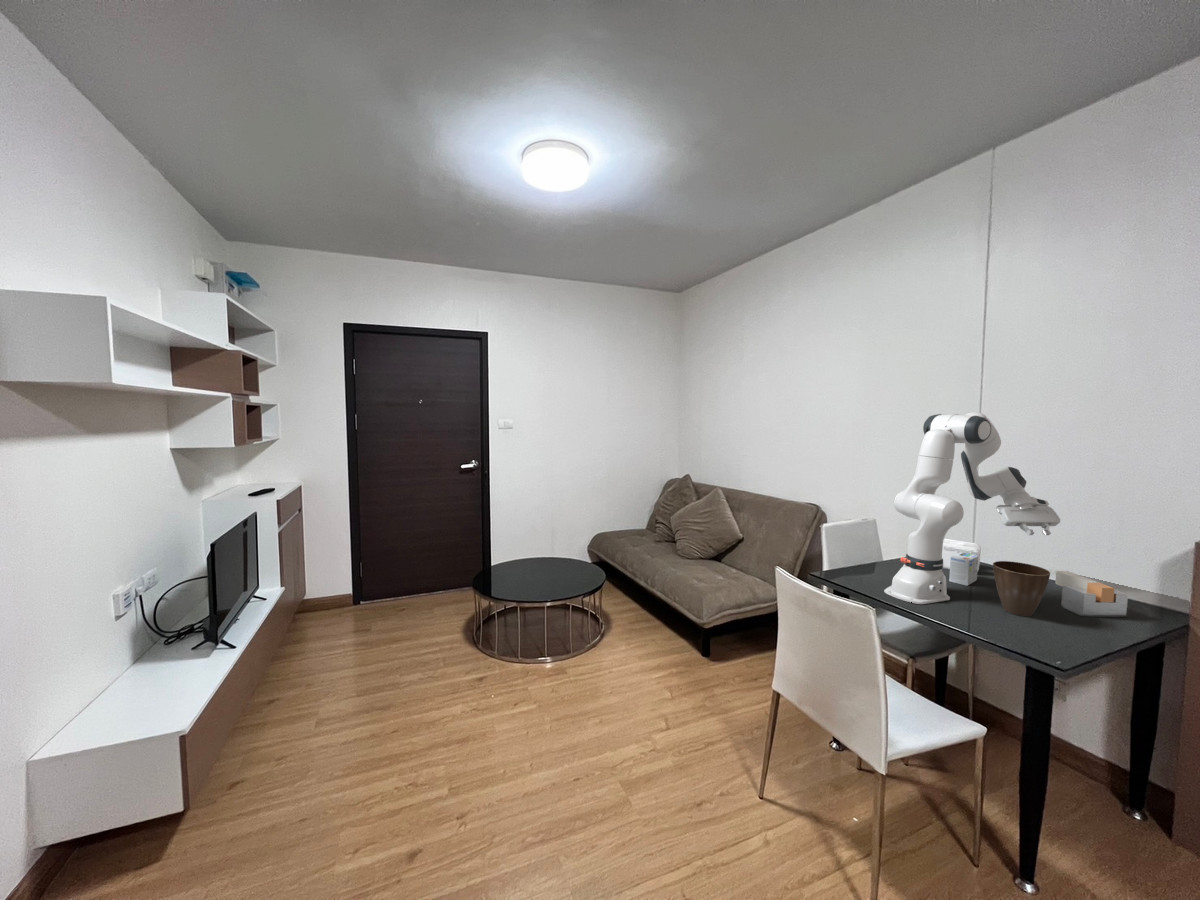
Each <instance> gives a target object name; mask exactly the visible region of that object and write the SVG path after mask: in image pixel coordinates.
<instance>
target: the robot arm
mask: <svg viewBox="0 0 1200 900" xmlns="http://www.w3.org/2000/svg"><path fill="white" fill-rule="evenodd" d="M922 428H923V429H922V430H923V433H924V436H923V438H922V441H921V444H920V447H919V451H918V456H917V461H916V467H915V471H914V474H913V477H912V479H911V481H910V482H909V484H907V486H906V488H905V489H903V490H902V491H899V492H898V493H897V494H896V496H895V498H894V501H893V506H894V508H895V510H896V512H898V513H900V514H901V515H903V516H905V517H906V518H909V519H910V518H911V519H913V520H918V521H920V523H919V526H918V529H916V530H914V531H911V532H910V533H909V535H908V537H907V552H906V554H905V557H904V556H902V557H901V558H900V563H903V566H901V568H900V569H899V570H898V571H897V573H896V574H895V575H894V576H893V577H892V582H891V585H890V586H888V587H886V588H884V590H883V592H884V593H885V594H886V595H889V596H891V597H893V598H895V599H897V600H898V599H899V600H900V601H904V602H908V603H911V602H912V604H917V605H926V604H932V603H938V602H945V601H950V600H951V597H950V596H949V595H948V594H947V577H946V575H945V574H944V571H943V569H944V568H943V559H942V550H943V541H944V539H946V538H945V537H946V535H947V533H948V532H949V531H950V529H951V528H953V527H955V526H956V525H958V524H959V523H960V522H961V521H962V520H963V518H964V513H965V512H964V508H963V505H962V504H961V503H960V502H959V501H957V500H955V499H953V498H950V497H948V496H945V495H939V494H936V492H937V489H939V487H940V486H942V485H944V484H946V483H948V482H949V481H950V479H951V477H952V476H951V475H952V471H953V465H954V457H955V451H956V450H955V448H956V447H955V444H964V448H963V450H962V452H961V453H960V458H961V462H962V463H961V464H962V467H963V470H964V474H965V478H966V482H967V488H968V489H967V490H968V492H969V494H970V495H971V496H972V497H973V498H974V499H976V500H979V501H987V500H990V499H992V498H994V497H997V496H1000V497H1001V498H1002V500H1003V503H1004V504H999V505H997V506H996V511H997V512H998V516H999V518H1000V520H1001V523H1002V524H1003V525H1004V526H1006V527H1019V529H1021V530H1022V531H1024V532H1025V534H1027V536H1033V535H1035V531H1034V530H1033V529H1031V528H1029V527H1041V529H1043V531H1042V534H1043V535H1044V536H1050V535H1051V534H1052V531H1050V527H1056V526H1058V525H1059V524H1060V523H1061V518H1060V517H1059V515H1058V513H1057V512H1056V511H1055V510H1054V509H1053V508H1052V507H1051V506H1049V505H1050V504H1049V502H1048V501H1047V500H1045V499H1041V498H1038V497H1037V498H1036V497H1034V496H1031V495H1030V494H1029V493H1028V492H1027V491H1026V489H1025V488H1026V486H1027V480H1026V479H1025V478H1024V477H1023V476H1022V474H1021V472H1020V470H1019V469H1018V468H1015V467H1012V466H1004V467H1002V468H1000V469H996V470H994V471H990V472H989V473H985V474H982V475H979V471H978V467H979V465H980V464H982V463H983V462H984V461H986V460H987V459H988V458H990V457H992V456H993V455H995V454H996V453H997V452H998V451H999V449H1000V447H1001V445H1002V439H1001V436H1000V434H999V432H998V429H997V428H996V427H995V426H994V424H993V423H992V422H991V420H990V419H989V418H988V417H987V416H986V414H984V413H982V412H979V411H972V412H967V413H965V414H959V413H947V414H942V413H938V414H933V415H932V414H931V415H929V416H928V417H927V419H926V420H925V421H924V423H923V427H922Z"/></svg>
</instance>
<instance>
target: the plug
mask: <svg viewBox="0 0 1200 900" xmlns="http://www.w3.org/2000/svg"><path fill="white" fill-rule="evenodd" d="M1055 584H1056V585H1057V586H1060V587H1062V588H1063V585H1075V586H1077V587H1080V588H1082V589H1085V590H1087V591H1090V592H1092V593H1095V594H1096V600H1097V601H1099V602H1113V601H1114V589H1115V587H1112V586H1109V585H1107V584H1104V583H1101V582H1099V581H1095V580H1094V579H1091V578H1088V577H1085V576H1082V575H1080V574H1077V573H1074V572H1071V571H1069V570H1055ZM1115 590H1116V589H1115Z"/></svg>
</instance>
